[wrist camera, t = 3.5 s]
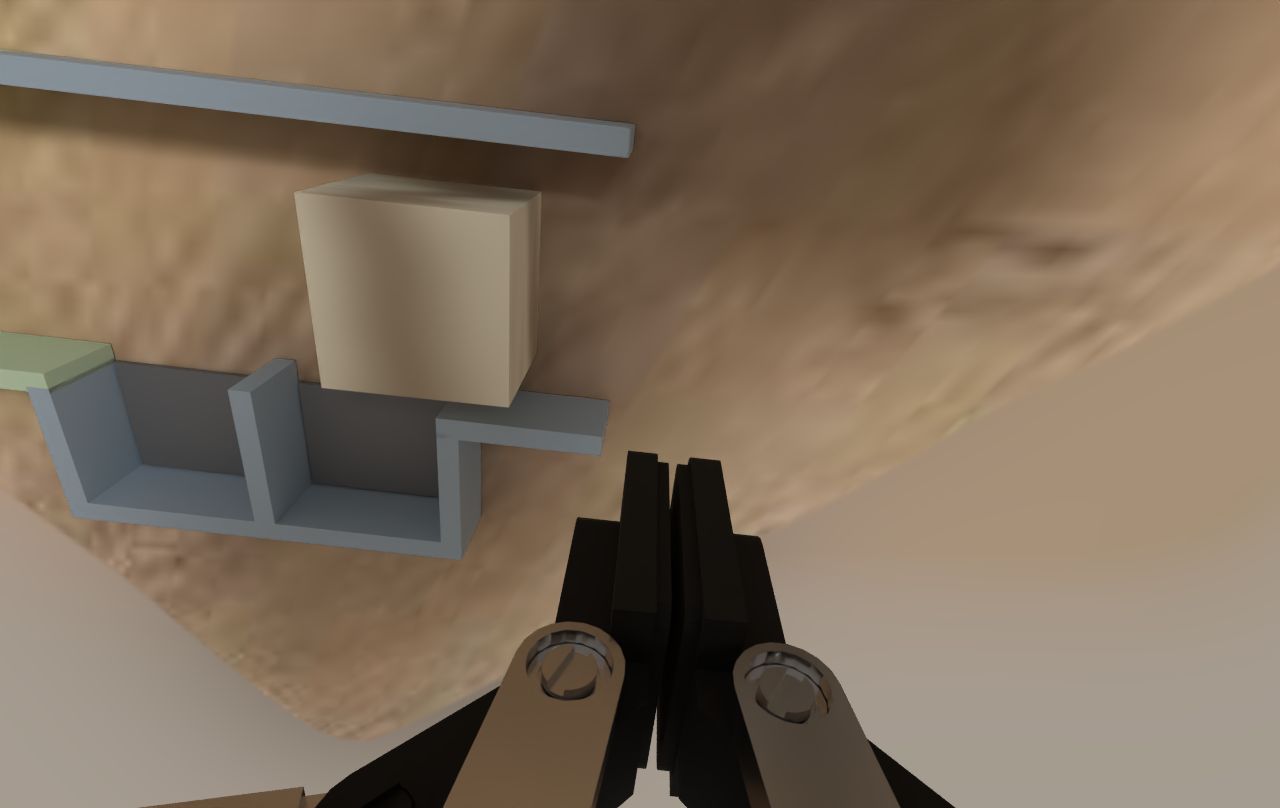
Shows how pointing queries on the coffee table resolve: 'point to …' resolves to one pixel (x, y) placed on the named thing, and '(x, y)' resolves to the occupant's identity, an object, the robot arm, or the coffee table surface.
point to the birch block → (422, 286)
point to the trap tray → (284, 373)
